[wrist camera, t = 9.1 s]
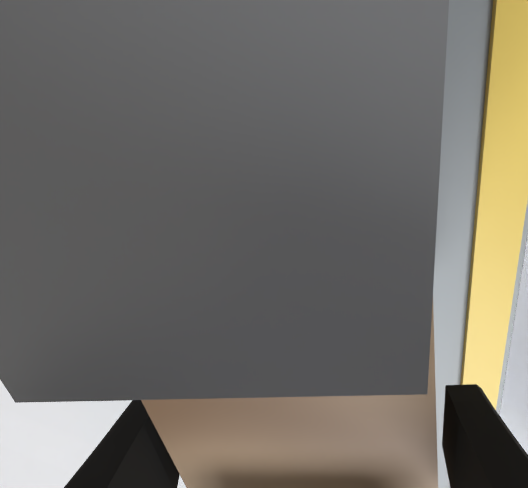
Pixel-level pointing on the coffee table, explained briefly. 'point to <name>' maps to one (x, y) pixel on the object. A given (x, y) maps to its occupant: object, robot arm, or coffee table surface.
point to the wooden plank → (303, 439)
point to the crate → (218, 197)
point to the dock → (480, 199)
